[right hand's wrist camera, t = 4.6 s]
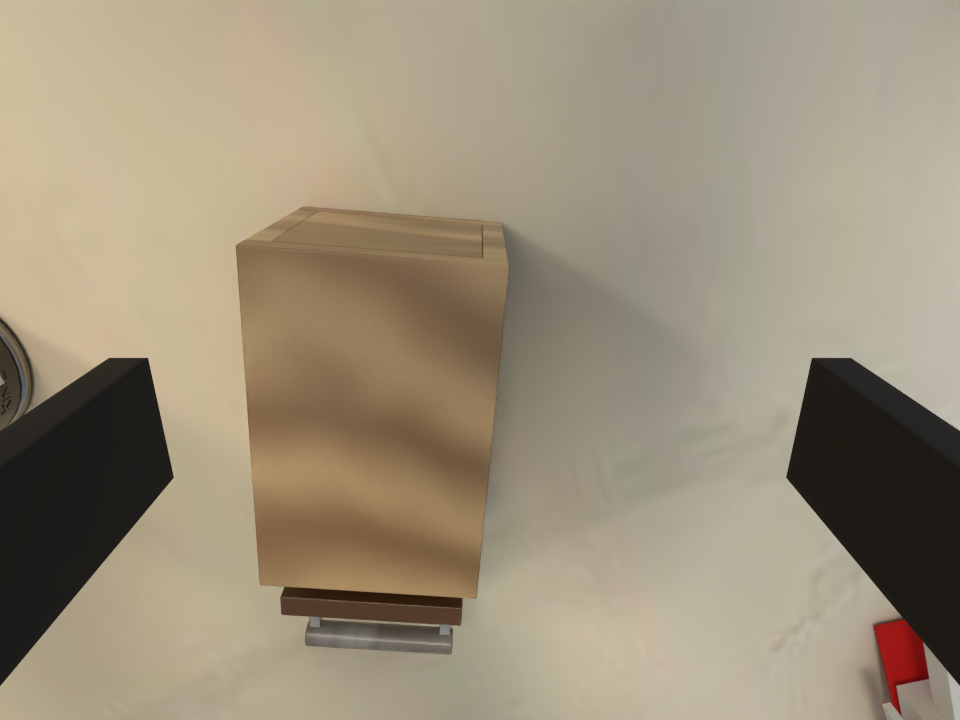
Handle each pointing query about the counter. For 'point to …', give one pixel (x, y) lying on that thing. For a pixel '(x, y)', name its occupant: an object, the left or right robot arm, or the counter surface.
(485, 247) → the cabinet
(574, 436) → the counter surface
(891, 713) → the toy
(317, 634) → the drawer
